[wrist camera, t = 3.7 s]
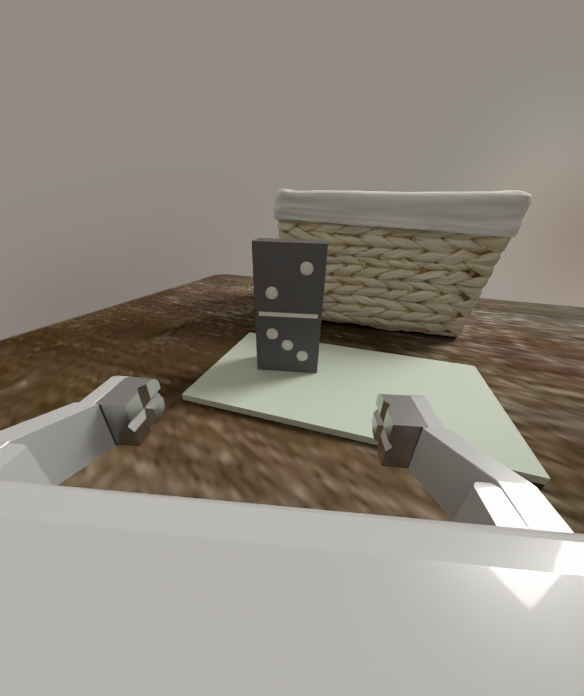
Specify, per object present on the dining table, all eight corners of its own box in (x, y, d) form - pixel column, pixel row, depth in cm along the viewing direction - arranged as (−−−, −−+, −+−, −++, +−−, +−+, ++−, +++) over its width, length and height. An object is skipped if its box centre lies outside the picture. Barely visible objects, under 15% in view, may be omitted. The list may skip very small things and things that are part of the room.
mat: (472, 370, 23) (474, 366, 23) (545, 484, 13) (550, 478, 13) (249, 336, 28) (249, 332, 28) (182, 399, 18) (181, 394, 18)
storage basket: (441, 304, 41) (474, 200, 34) (480, 348, 27) (547, 187, 20) (299, 290, 46) (303, 197, 40) (270, 322, 32) (268, 186, 26)
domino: (316, 358, 23) (326, 240, 19) (316, 373, 21) (328, 243, 16) (262, 354, 23) (259, 238, 19) (257, 370, 21) (251, 241, 17)
